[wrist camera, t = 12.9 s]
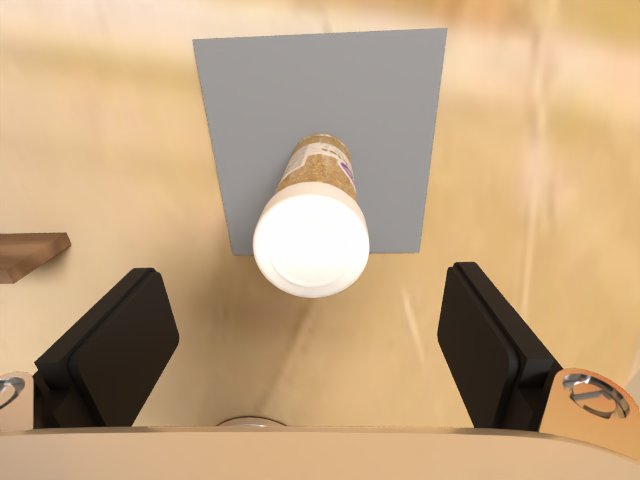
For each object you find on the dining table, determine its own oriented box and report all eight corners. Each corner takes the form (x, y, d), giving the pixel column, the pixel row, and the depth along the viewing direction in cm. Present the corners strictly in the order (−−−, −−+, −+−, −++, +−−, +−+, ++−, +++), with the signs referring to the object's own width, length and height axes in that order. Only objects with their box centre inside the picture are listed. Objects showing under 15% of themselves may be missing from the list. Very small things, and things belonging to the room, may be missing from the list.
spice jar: (363, 162, 24) (396, 254, 12) (321, 203, 26) (313, 320, 14) (319, 117, 23) (306, 170, 11) (277, 163, 24) (225, 255, 12)
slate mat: (416, 246, 28) (419, 252, 27) (236, 249, 29) (233, 255, 28) (442, 29, 21) (447, 28, 20) (198, 40, 21) (192, 39, 21)
